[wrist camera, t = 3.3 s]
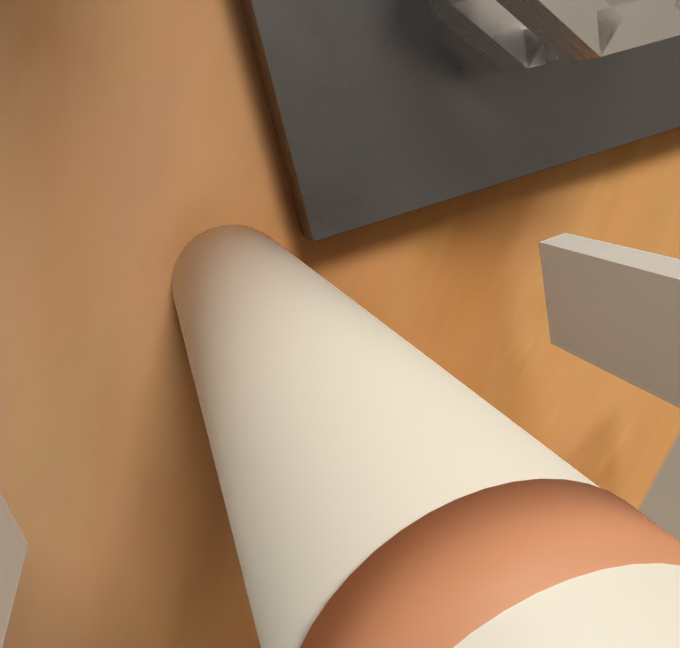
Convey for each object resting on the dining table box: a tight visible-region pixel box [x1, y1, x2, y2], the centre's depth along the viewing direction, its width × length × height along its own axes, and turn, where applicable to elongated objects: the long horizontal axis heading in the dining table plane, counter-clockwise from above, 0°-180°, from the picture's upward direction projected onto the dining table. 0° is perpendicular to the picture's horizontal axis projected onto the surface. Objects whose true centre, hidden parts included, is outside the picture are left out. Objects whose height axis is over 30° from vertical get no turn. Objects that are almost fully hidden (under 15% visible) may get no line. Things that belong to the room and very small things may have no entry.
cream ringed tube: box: [172, 225, 680, 648], centre depth 13 cm, size 4×4×22 cm
